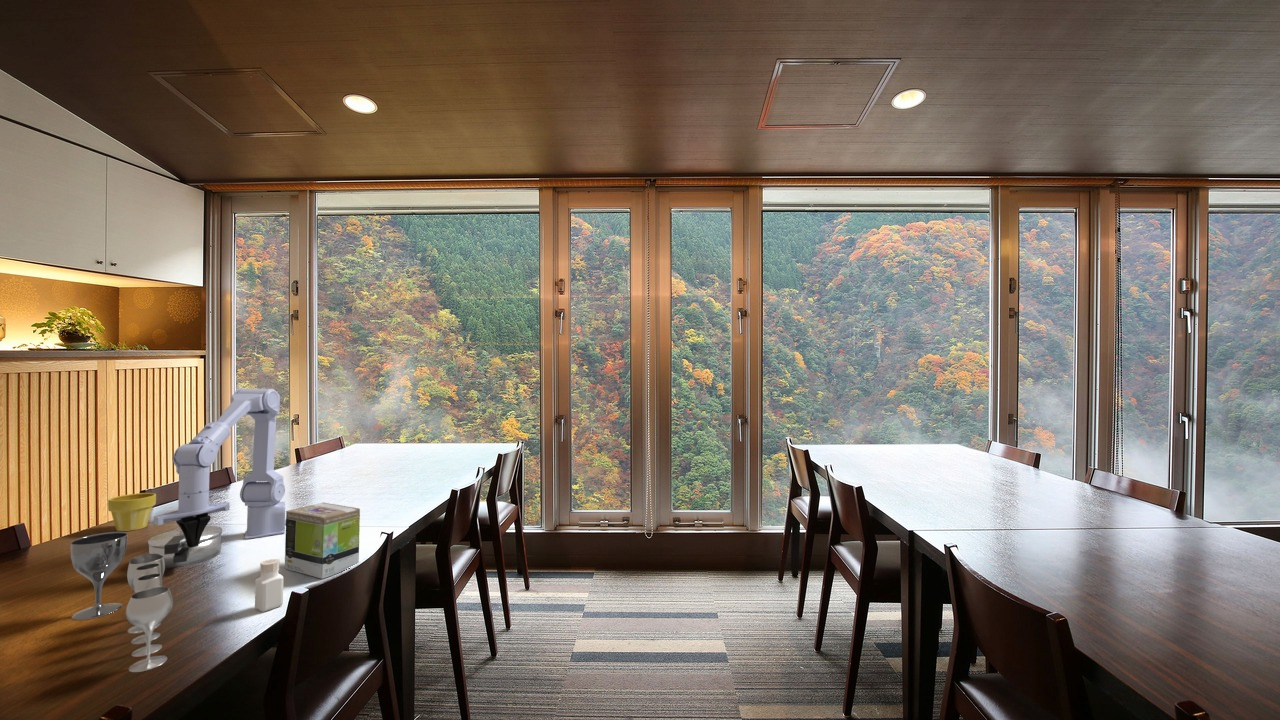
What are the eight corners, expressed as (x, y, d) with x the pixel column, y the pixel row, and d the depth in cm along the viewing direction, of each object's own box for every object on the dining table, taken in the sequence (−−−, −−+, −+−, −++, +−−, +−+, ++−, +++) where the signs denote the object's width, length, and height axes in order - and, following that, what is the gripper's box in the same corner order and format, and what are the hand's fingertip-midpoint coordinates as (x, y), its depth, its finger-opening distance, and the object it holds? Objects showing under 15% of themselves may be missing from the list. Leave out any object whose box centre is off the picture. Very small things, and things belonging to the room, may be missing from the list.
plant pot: (128, 523, 159) (129, 492, 159) (164, 522, 160) (165, 492, 161) (97, 534, 149) (98, 501, 149) (135, 533, 150) (136, 500, 150)
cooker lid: (158, 533, 134) (159, 525, 134) (227, 526, 142) (227, 518, 142) (129, 559, 117) (130, 549, 117) (209, 548, 124) (209, 539, 124)
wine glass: (136, 603, 106) (138, 532, 107) (92, 622, 98) (94, 545, 99) (103, 601, 107) (105, 530, 107) (56, 619, 99) (58, 543, 99)
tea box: (360, 565, 128) (361, 507, 128) (321, 580, 119) (322, 518, 119) (322, 555, 134) (323, 500, 134) (282, 569, 125) (284, 509, 125)
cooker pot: (153, 555, 133) (154, 536, 133) (222, 544, 141) (222, 526, 142) (139, 581, 117) (139, 559, 117) (217, 567, 126) (217, 547, 126)
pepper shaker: (262, 613, 103) (263, 566, 103) (253, 608, 105) (254, 562, 105) (284, 605, 106) (285, 560, 106) (275, 601, 108) (276, 556, 108)
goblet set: (123, 618, 100) (124, 551, 101) (162, 608, 105) (164, 544, 105) (124, 679, 81) (126, 596, 81) (172, 664, 85) (174, 585, 85)
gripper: (219, 483, 134) (218, 535, 134) (148, 496, 121) (146, 552, 120) (234, 486, 131) (233, 539, 131) (162, 499, 118) (161, 558, 117)
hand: (192, 546), depth 125 cm, fingers closed
